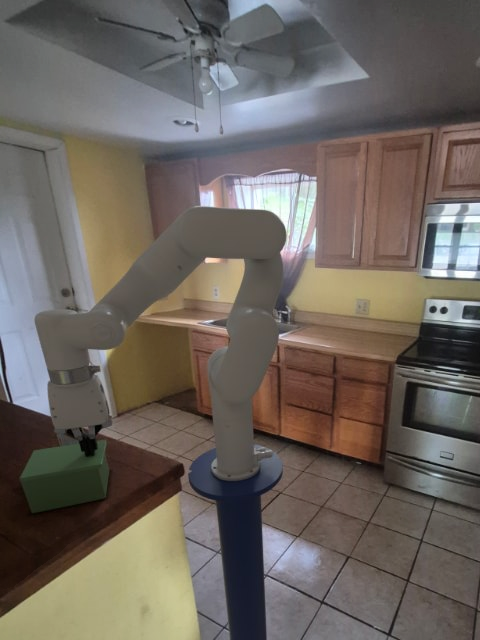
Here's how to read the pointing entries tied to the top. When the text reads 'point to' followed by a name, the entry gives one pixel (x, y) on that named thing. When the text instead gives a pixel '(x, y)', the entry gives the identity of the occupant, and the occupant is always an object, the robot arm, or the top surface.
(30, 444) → the top surface
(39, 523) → the top surface
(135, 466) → the top surface
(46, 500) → the chest
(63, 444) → the tin
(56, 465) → the lid
